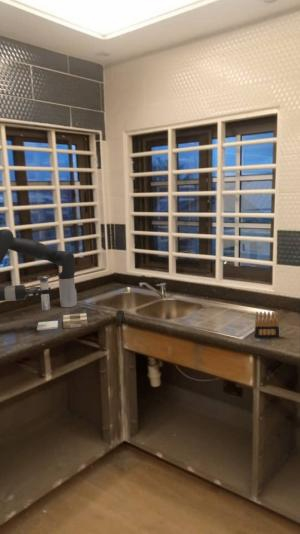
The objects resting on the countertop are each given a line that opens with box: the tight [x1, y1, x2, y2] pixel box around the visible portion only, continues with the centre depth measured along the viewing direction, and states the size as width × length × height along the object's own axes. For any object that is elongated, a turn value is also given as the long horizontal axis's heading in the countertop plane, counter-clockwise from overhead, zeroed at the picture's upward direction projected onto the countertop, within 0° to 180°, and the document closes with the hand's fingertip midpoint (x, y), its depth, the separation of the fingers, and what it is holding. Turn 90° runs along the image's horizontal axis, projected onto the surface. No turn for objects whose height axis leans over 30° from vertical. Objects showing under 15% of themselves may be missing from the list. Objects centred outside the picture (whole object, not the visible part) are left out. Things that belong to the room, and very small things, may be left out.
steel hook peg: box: [37, 275, 51, 311], centre depth 208 cm, size 6×6×17 cm
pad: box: [36, 320, 59, 331], centre depth 212 cm, size 10×10×1 cm
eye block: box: [62, 312, 89, 329], centre depth 214 cm, size 12×12×4 cm
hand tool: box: [114, 309, 125, 328], centre depth 214 cm, size 19×4×5 cm, turn 177°
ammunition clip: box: [253, 311, 280, 339], centre depth 184 cm, size 11×2×12 cm, turn 86°
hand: (50, 290), depth 209 cm, fingers closed on steel hook peg, 4 cm apart
